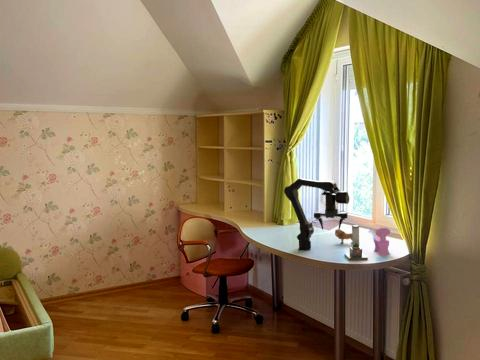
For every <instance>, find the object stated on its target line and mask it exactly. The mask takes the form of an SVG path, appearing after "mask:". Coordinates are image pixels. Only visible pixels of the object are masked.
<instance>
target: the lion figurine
mask: <svg viewBox="0 0 480 360" xmlns="http://www.w3.org/2000/svg"><path fill="white" fill-rule="evenodd" d="M334 235H335V237H337V238H338V239H339V240H341V242H340V245H343V244H344V240H351V242H350V244H351V245H352V232H351V233H346V232H345V231H344V230H341V229H340V230H339V228H337V229H335V230H334Z"/></svg>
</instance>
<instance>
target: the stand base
mask: <svg viewBox="0 0 480 360" xmlns="http://www.w3.org/2000/svg"><path fill="white" fill-rule="evenodd" d="M343 255H344V257H345V258H346V259H347V261H349V262H354V261H355V262H356V261H368V259H369V257H368V256H367V255H366V254H364V252H363V249H362V248H361V247H360V246H359V249H353V248H352V246H349V252H348V253H347V252H345V253H344V254H343Z"/></svg>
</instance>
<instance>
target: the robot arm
mask: <svg viewBox="0 0 480 360" xmlns="http://www.w3.org/2000/svg"><path fill="white" fill-rule="evenodd" d="M302 186H304V187H309V188H316V189H320V190H322V191H323V192H322V193H321V195H322V196H325V197H324V199H325V201H324V202H325V205H324V206H325V207H324V208H325V209H324V213H322V211H315V212H314V213H313V218H314V219H316V220H317V221H318V222H319V225H320V226H321V229H322V231H323V230H324V221H323V217H325V218H326V219H329V218H331V219H334V218H335V217H336V218H337V217H339V221H338V229H339V230H341V225H342V223H343V221H346V219H348V212H347V211H340V212H339V210H338V209H337V206H336V205H337V204H346V205H348V204H349V203H350V196H349V192H348V191H341V190H340V188H339V187H338V186H337V182H336V181H335V180H324V181H323V180H322V181H320V180H314V179H309V178H308V179H306V178H303V177H300V178H298V179H297V180H295V181H294V182H292V183H291V184H290V185H287V186H285V187H284V189H283V192H284V193H283V194H285V196H286V198H287V199H288V200H289V201H290V203H291V206H292V208H293V210H294V214H295V215H296V218H297V220H298V223H299V234H298V235H297V236H296V238H297V240H298V251H299V250H300V251H310V250H311V248H312V241H311V238H312V235H313V234H314V232H315V230H314V229H315V227H314V226H313V223H312V222H311V221H310V222H309V221H308V219H307V218H306V215H305V211H304V210H303V207H302V205H301V202H300V200H299V190H300V188H301V187H302ZM338 212H339V213H338Z"/></svg>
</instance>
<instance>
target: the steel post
mask: <svg viewBox="0 0 480 360" xmlns="http://www.w3.org/2000/svg"><path fill="white" fill-rule="evenodd" d="M351 230H352V231H351V233H352V240H351V242H352V244H351V245H352V246H351V247H352V248H353V249H359V247H360V225H357V224H355V225H352V226H351Z"/></svg>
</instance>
